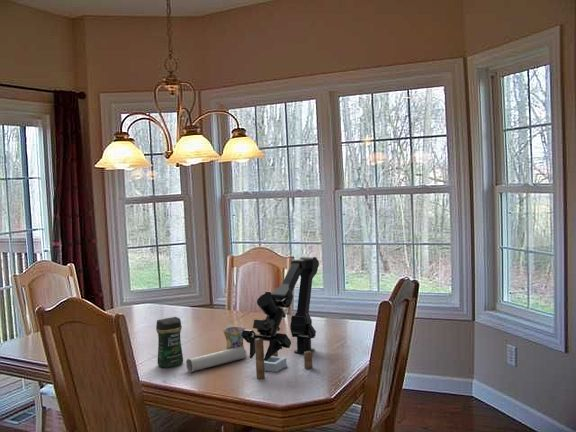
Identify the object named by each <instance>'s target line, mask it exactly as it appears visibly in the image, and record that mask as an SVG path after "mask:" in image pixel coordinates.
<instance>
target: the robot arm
mask: <svg viewBox="0 0 576 432" xmlns="http://www.w3.org/2000/svg"><path fill="white" fill-rule="evenodd" d="M289 266H290V267H289V269H288V271H287V273H286V275H285V277H284V279H283V280H282V283H281V285H280V286H278V287H277V288H275V289H274V290H273V293H272V292H271V291H265V292H264V293H263V294H261V295H260V296H259V297H258V298H257V300H256V304H257V306H258V307H259V309H260V310H261V311H262V312H263V314H264V315H266V316H265V318H264V319H262V320H261V319H253V324H252V328H253V329H254V330H255V329H256V332H257V333H256V332H255V331H254V330H252V329H246V328H245V330H243V331H242V334H241V336H242V337H243V340H245V342H247V343H248V344H249V359H250V360H252V359H253V358H254V356H256V354H255V339H257V338H262V339H263V342H264V341H266V342H269V345H268V347H267V350H266V352H265V354H264V360H265V361H267V360H268V359H269V358H270V357H271V356H272V355H273V354H274V353H276V352H277V351H280V350H283V348H284V349H290V347H291V345H292V341H291V339H290V338H289V337H288V335H287V333H281V332H280V330H281V327H280V324H281V323H282V320H283V318H285V319H286V318H287V315H286V312H285V310H283V309H282V308H285V309H288V308H290V307H291V304H292V302H293V299H294V294H293V291H294V289H295V287H296V285H297V282H298V280H299V278H300V282H299V291H298V297H297V298H298V299H297V307H296V308H297V309H296V312H295V314H294V315H292V316H291V319H290V324H289V327H290V333H291V337H292V338H296V349H295V350H294V351H293V353H295V354H303V355H304V352H305V351H311V352H312V353H313V352H314V351H315V348H312V339H315V337H316V333H317V330H316V329H315V328H314V326H313V325H312V322H313V321H312V318H311V316H310V304H311V296H312V295H311V294H312V286H313V279H314V277H315V276H316V275H317V273H318V269H319V266H320V261H319V259H317V256H300V258H294V259H292V260H291V261H290V265H289Z"/></svg>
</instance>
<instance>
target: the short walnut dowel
mask: <svg viewBox="0 0 576 432" xmlns="http://www.w3.org/2000/svg"><path fill="white" fill-rule="evenodd" d="M303 359H304V361H303V363H304V369H305V370H312V369H313V351H312V352H311V351H305V352H304V354H303Z"/></svg>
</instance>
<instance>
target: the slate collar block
mask: <svg viewBox="0 0 576 432" xmlns="http://www.w3.org/2000/svg"><path fill="white" fill-rule="evenodd" d="M287 364H288V363H287V357H285V356H278V357H277V356H271V357H270V358H269V359H268V360H267V361H265V360H264V368H265V371H266V372H271V373H272V372H273V373H277V372H278V371H280V370H282V369H284V368H285V367H286V366H287Z"/></svg>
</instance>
